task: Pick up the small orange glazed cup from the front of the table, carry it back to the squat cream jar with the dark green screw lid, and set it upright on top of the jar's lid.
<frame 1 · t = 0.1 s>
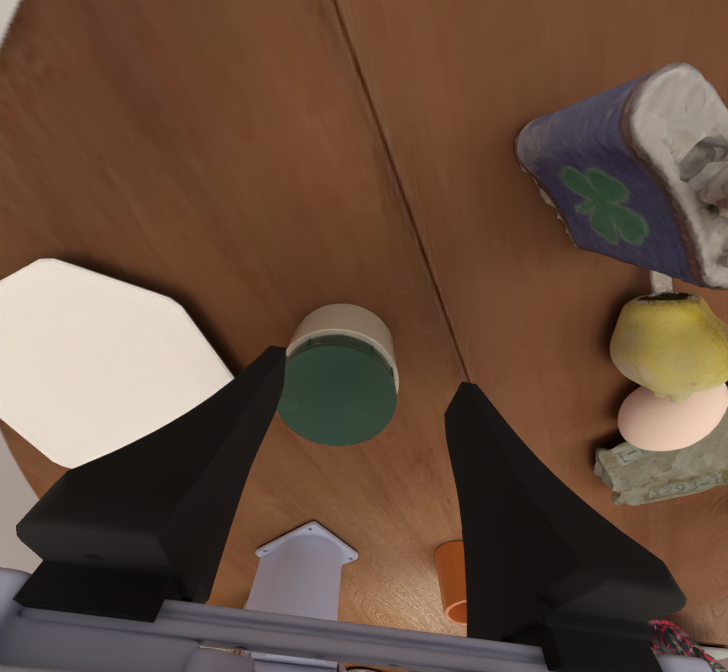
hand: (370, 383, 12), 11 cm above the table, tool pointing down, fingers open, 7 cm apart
fruit: (633, 316, 22), on the table
cleaver: (664, 656, 45), on the table, touching fabric swatch
cup: (456, 553, 35), on the table
egg 2: (625, 442, 24), point 2 cm above the table, touching stone
stone: (699, 490, 27), point 2 cm above the table, touching egg 2
jar lid: (335, 396, 18), point 6 cm above the table, screwed on, not yet turned
jar: (343, 351, 24), on the table
flask: (563, 188, 19), on the table
fabric swatch: (578, 657, 46), on the table, touching cleaver
plate: (123, 382, 25), on the table
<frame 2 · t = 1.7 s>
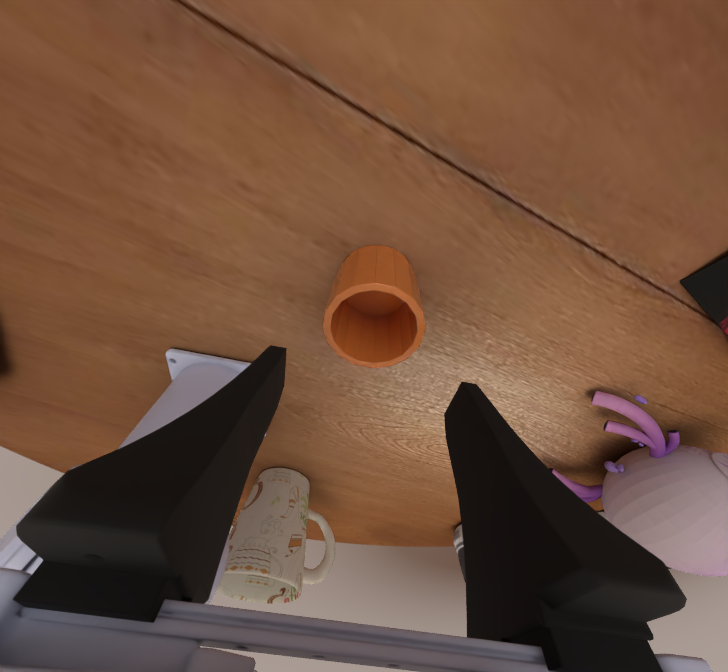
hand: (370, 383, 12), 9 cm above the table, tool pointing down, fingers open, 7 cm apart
mug: (300, 486, 36), on the table
cup: (375, 283, 20), on the table
boat shoe: (554, 524, 38), on the table
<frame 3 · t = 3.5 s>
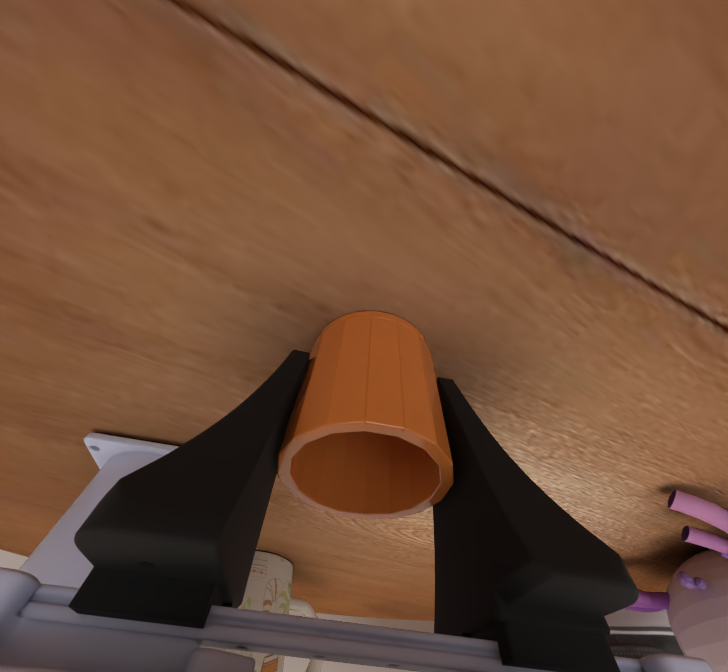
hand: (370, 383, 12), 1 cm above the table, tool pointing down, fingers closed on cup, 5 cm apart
mug: (281, 566, 30), on the table
cup: (370, 360, 13), on the table, touching gripper
boat shoe: (589, 607, 31), on the table
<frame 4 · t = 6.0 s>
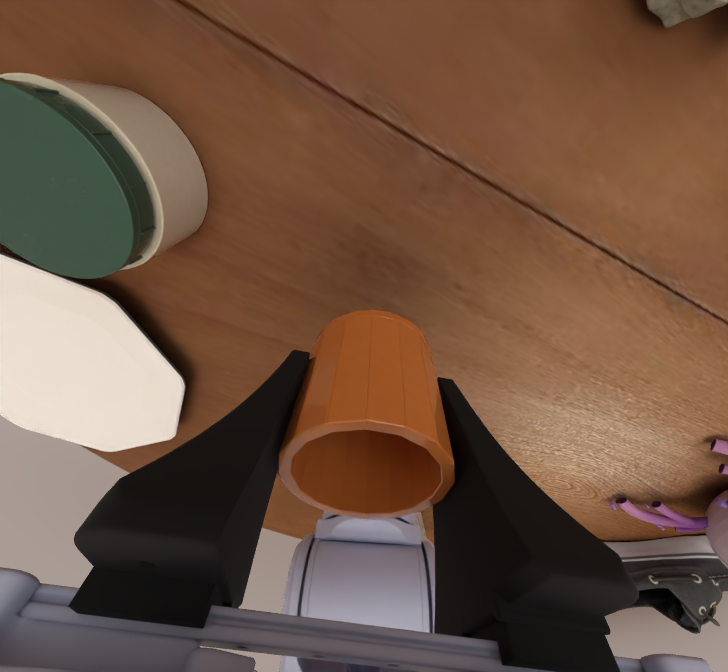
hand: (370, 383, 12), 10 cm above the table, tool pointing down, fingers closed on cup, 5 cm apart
cup: (371, 359, 13), point 9 cm above the table, touching gripper
jar lid: (46, 193, 13), point 6 cm above the table, screwed on, not yet turned
jar: (138, 174, 17), on the table
boat shoe: (638, 545, 41), on the table
plate: (73, 360, 26), on the table
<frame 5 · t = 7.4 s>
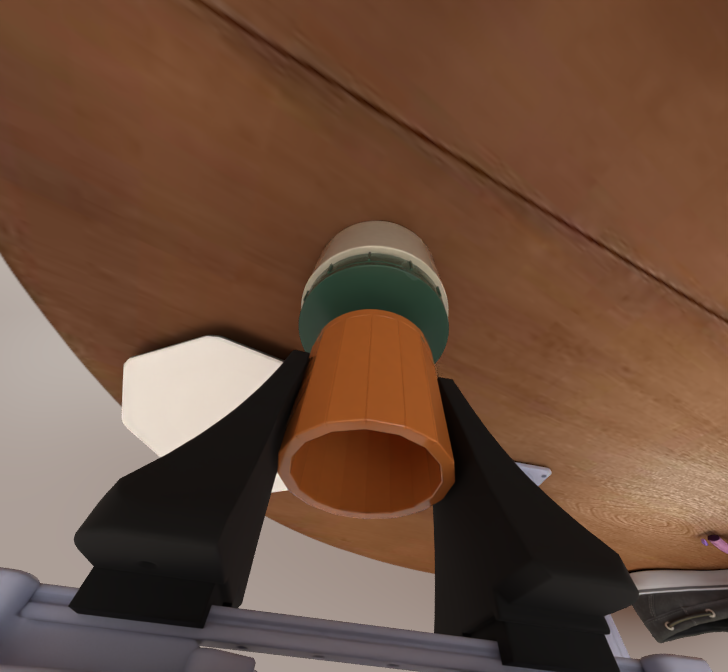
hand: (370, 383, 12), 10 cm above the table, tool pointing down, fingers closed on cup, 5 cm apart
cup: (371, 359, 13), point 8 cm above the table, touching gripper
jar lid: (372, 331, 15), point 6 cm above the table, screwed on, not yet turned
jar: (375, 282, 20), on the table
boat shoe: (712, 573, 44), on the table
plate: (244, 418, 29), on the table
when the fingers open (8 cm above the table, at t = 8.6 s): cup stays where it is, resting on jar lid.
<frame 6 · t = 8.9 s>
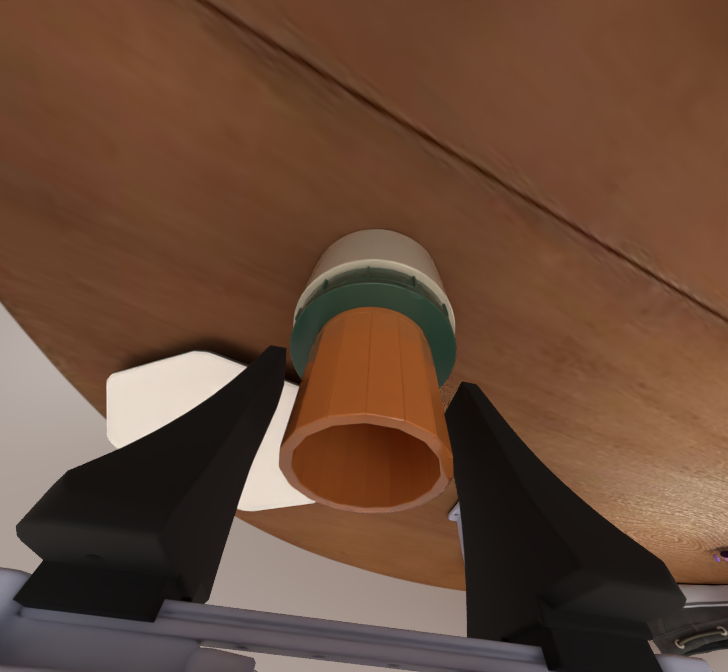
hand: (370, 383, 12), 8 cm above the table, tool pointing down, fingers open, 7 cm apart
cup: (371, 356, 14), point 6 cm above the table, touching jar lid
jar lid: (372, 352, 14), point 6 cm above the table, screwed on, not yet turned, touching cup
jar: (375, 294, 19), on the table
boat shoe: (722, 587, 43), on the table
plate: (237, 433, 27), on the table
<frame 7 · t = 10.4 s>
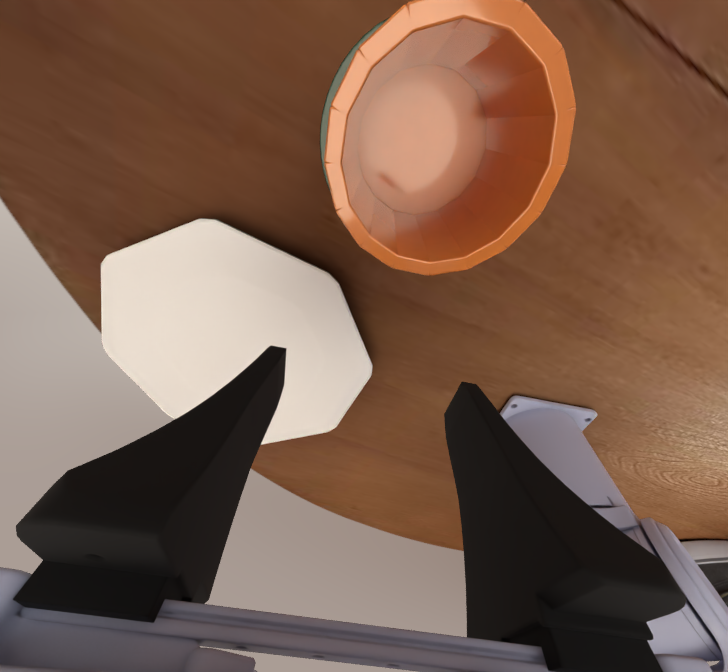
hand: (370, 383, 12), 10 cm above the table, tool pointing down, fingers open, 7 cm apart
cup: (419, 147, 11), point 6 cm above the table, touching jar lid
jar lid: (418, 150, 11), point 6 cm above the table, screwed on, not yet turned, touching cup
plate: (245, 347, 25), on the table
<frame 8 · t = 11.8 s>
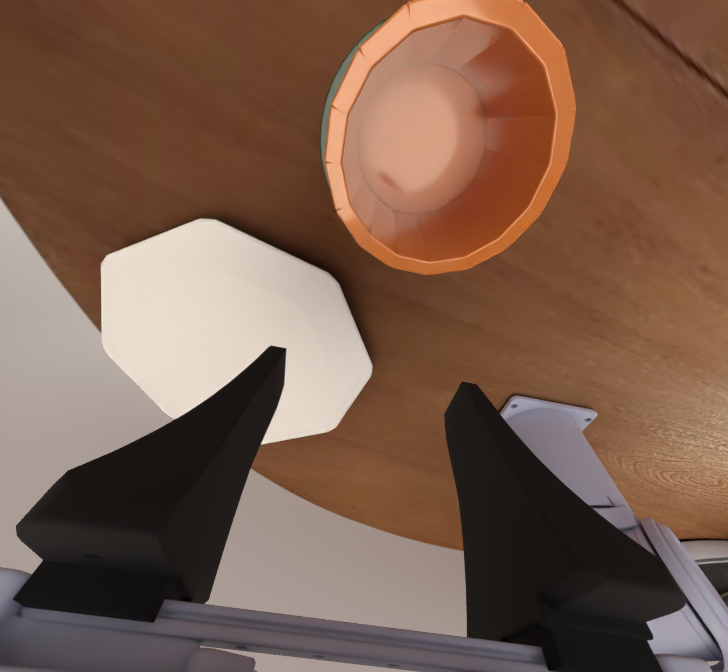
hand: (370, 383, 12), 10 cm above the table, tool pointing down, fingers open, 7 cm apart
cup: (419, 147, 11), point 6 cm above the table, touching jar lid
jar lid: (419, 150, 11), point 6 cm above the table, screwed on, not yet turned, touching cup
plate: (245, 347, 25), on the table
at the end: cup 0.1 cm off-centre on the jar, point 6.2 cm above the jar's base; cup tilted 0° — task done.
